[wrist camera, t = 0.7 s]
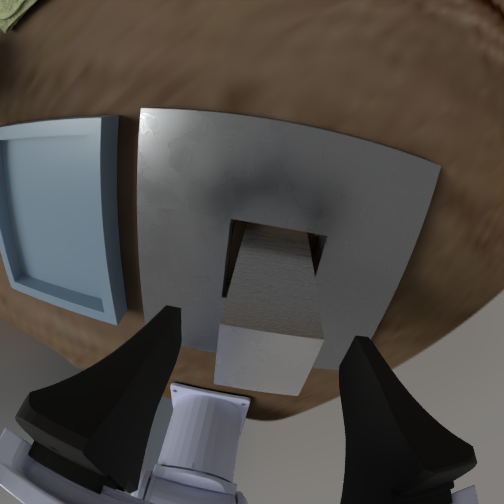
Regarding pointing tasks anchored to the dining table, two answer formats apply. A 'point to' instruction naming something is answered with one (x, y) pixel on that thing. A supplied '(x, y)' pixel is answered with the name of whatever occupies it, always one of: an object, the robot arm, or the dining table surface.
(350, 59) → the dining table surface
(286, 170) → the pin plate
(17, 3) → the washcloth
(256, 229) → the pin
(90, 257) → the tray
